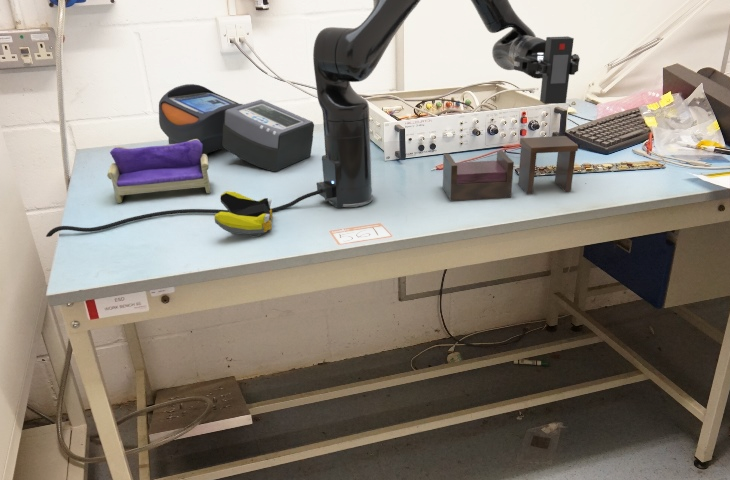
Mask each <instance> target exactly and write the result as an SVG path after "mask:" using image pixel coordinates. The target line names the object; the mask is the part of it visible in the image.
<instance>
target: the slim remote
mask: <svg viewBox="0 0 730 480" xmlns="http://www.w3.org/2000/svg"><path fill="white" fill-rule="evenodd" d="M545 40H546V47H545V56H544V61H546V62H548V63H550V64H551V70H550V75H549V76H545V75H543V76H542V78H541V86H540V95H539V101H540V103H543V104H544V105H554V104H556V105H557V104H567V97H568V90H569V89H568V87H569V80H570V74H569V72H570V64H571V57H572V55H573V48H574V37H571V36H568V35H567V36H546V38H545Z"/></svg>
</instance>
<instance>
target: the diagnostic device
mask: <svg viewBox="0 0 730 480" xmlns="http://www.w3.org/2000/svg"><path fill="white" fill-rule="evenodd" d="M158 123H159V124H158V125H159V127H160V129H161V131H162V132H163V133H164V134H165V136H166V137H168V138H167V139H168V145H170V144H178V143H183V142H187V141H190V140H193V139H198V140H199V141H200V142H201V143H202V144H203V146H202V148H203V149H202V154H206V155H208V154H210V153H213V152H216V151H219V150H222V149H225V150H226V151H228V152H229V153H230V154H232V155H233V156H236V157H237V158H239V159H241V160H243V161H245V162H247V163H248V164H251V165H253V166H256V167H258V168H261V169H264V170H267V171H270V172H278V171H280V170H283V169H284V168H285V169H286V168H287V167H289V166H292V165H294V164H297V163H299V162H301V161H303V160H305V159H308V158H310V157H311V156H312V149H313V148H312V147H313V142H314V141H313V140H314V129H315V123H314V121H312V120H309V119H308V118H305V117H302V116H300V115H298V114H295V113H294V112H291V111H289V110H287V109H284V108H282V107H280V106H277V105H275V104H273V103H270V102H269V101H266V100H263V99H258V100H254V101H251V102H248V103H244V104H243V103H239V102H237V101H235V100H232V99H230V98H228V97H225V96H223V95H220V94H219V93H216V92H215V91H213V90H211V89H209V88H207V87H205V86H203V85H199V84H194V83H189V84H188V83H187V84H182V85H178V86H176V87H174V88H172V89H169V90H168V91H167V92H166V93H165V94H163V96H162V97H161V99H160V100H159V102H158Z"/></svg>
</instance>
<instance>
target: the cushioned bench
mask: <svg viewBox="0 0 730 480" xmlns="http://www.w3.org/2000/svg"><path fill="white" fill-rule="evenodd" d="M442 157H443V158H442V159H443V160H442V189H443V190H444V192H445V194H446V196H447V198H448V200H449V201H450V202H455V201H456V202H457V201H458V202H459V201H475V200H490V199H491V200H493V199H506V198H507V199H508V198H512V188H513V179H514V178H513V177H514V166H515V165H514V164H515V163H514V161H513V160H512V158H510V157H509V156H508V155H507V154H506V152H505V151H503V150H497V151H496V160H480V161H479V160H478V161H464V162H463V161H462V162H456V161H455V160H454V159H453V156H451V154H450V153H443V156H442Z"/></svg>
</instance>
